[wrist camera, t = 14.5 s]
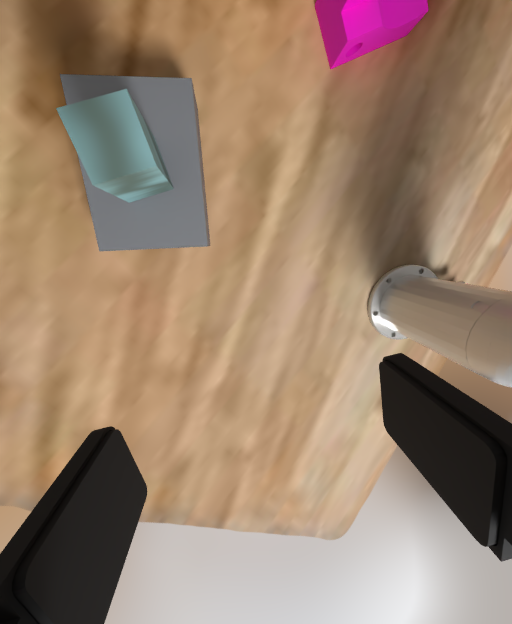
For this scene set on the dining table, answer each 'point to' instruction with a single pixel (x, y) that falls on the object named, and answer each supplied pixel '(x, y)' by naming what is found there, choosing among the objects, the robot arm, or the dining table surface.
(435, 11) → the dining table surface
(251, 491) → the dining table surface
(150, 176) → the teal block
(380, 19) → the toy block
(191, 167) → the plinth
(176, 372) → the dining table surface
